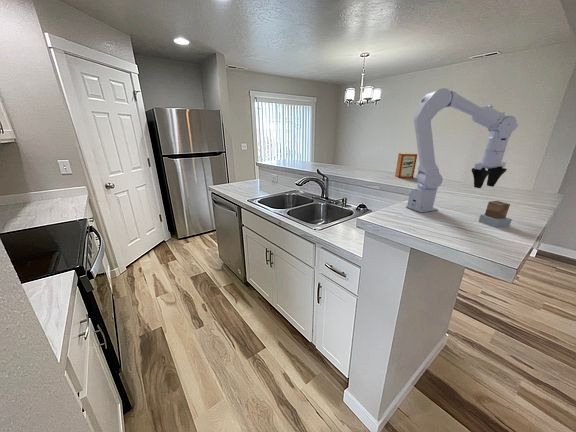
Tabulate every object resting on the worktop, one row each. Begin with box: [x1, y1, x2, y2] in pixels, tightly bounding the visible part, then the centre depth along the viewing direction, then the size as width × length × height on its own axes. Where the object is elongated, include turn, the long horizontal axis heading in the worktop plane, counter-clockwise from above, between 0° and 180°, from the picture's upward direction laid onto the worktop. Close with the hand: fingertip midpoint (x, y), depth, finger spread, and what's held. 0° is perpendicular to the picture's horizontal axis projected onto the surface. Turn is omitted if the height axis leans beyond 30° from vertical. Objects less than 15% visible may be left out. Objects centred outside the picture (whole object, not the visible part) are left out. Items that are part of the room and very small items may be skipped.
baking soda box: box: [394, 152, 418, 179], centre depth 159 cm, size 10×6×16 cm
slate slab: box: [478, 213, 513, 229], centre depth 82 cm, size 6×6×3 cm
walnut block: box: [484, 200, 511, 219], centre depth 81 cm, size 4×4×5 cm
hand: (483, 186), depth 92 cm, fingers open, 7 cm apart
